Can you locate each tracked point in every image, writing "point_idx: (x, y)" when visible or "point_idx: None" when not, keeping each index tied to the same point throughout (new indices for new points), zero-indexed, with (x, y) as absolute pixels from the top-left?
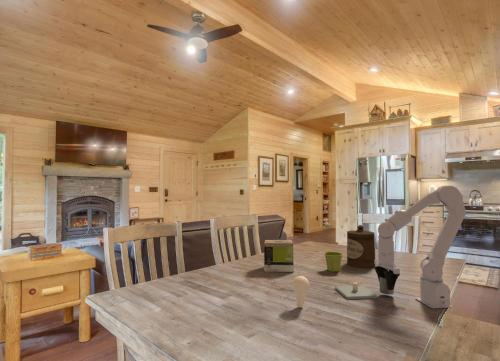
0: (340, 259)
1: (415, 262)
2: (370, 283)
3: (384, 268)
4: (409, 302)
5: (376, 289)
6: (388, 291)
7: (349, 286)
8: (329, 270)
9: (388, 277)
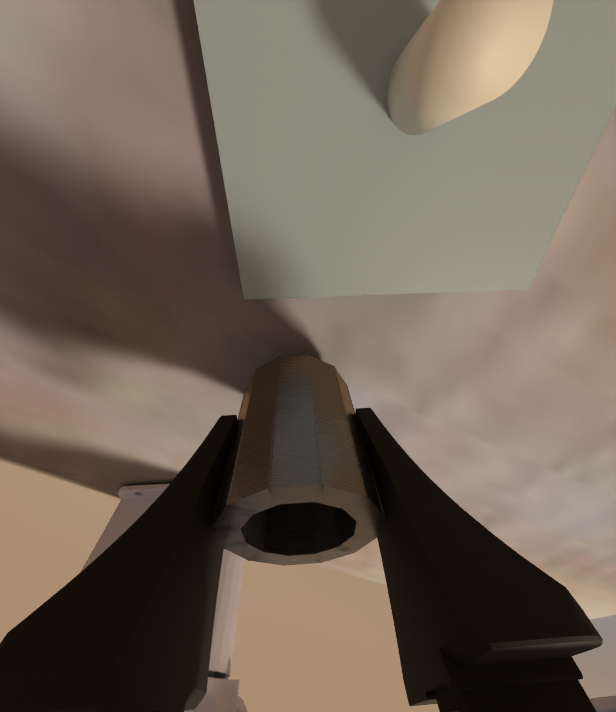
0: None
1: (606, 588)
2: (548, 386)
3: (417, 664)
4: (193, 442)
5: (430, 373)
6: (241, 406)
7: (597, 85)
8: None
9: (87, 569)
